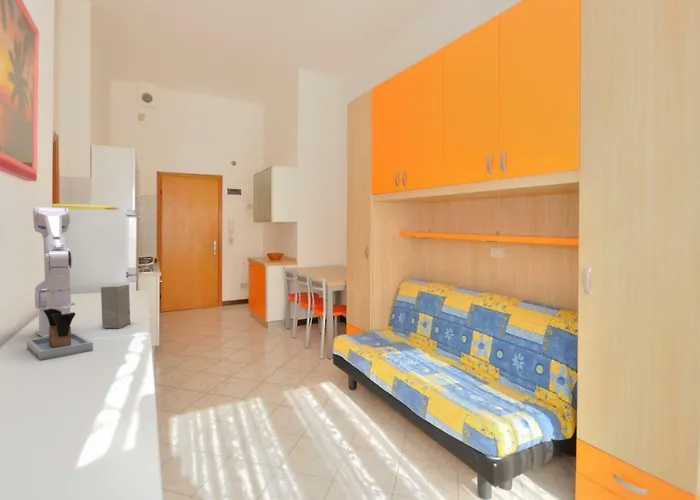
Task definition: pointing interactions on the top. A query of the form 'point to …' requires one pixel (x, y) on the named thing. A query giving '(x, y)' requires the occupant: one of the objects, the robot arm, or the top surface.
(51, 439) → the top surface
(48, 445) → the top surface
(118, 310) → the skincare box
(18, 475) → the top surface
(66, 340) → the walnut block
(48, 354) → the tray
